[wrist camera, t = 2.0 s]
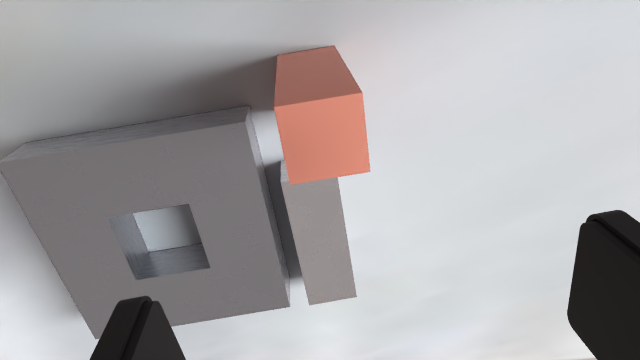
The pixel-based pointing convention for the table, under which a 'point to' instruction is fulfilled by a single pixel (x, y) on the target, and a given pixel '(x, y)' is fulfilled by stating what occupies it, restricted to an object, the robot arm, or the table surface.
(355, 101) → the pin
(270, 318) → the table surface
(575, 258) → the robot arm
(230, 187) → the square hole plate
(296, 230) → the tilted grey slab block
